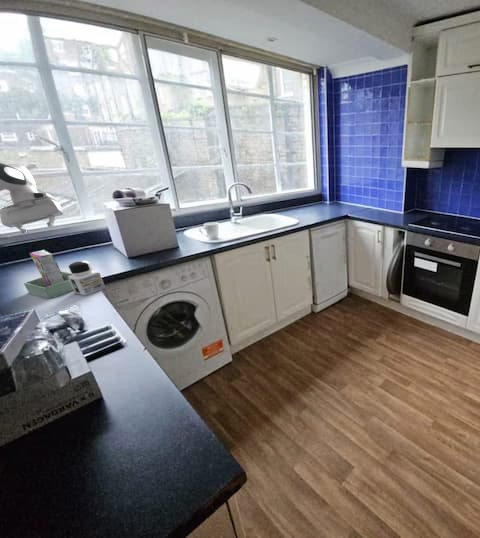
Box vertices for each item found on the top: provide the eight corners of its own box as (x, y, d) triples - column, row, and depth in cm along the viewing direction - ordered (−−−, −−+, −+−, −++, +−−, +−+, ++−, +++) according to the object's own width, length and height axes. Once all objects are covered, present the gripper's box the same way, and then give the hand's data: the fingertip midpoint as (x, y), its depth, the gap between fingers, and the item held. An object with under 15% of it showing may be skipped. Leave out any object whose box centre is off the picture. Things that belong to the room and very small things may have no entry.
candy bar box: (46, 287, 130) (28, 252, 123) (61, 283, 134) (44, 249, 127) (54, 293, 124) (36, 257, 118) (69, 288, 128) (53, 253, 122)
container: (85, 295, 122) (72, 267, 117) (74, 293, 125) (61, 264, 120) (106, 287, 129) (94, 260, 124) (95, 285, 131) (83, 258, 126)
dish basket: (49, 298, 121) (44, 288, 119) (28, 292, 126) (23, 282, 124) (86, 285, 132) (82, 275, 130) (66, 280, 138) (61, 271, 136)
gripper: (-9, 205, 123) (1, 235, 122) (49, 191, 129) (60, 220, 128) (4, 210, 129) (14, 239, 128) (60, 197, 135) (70, 224, 134)
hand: (38, 229), depth 128 cm, fingers open, 8 cm apart
